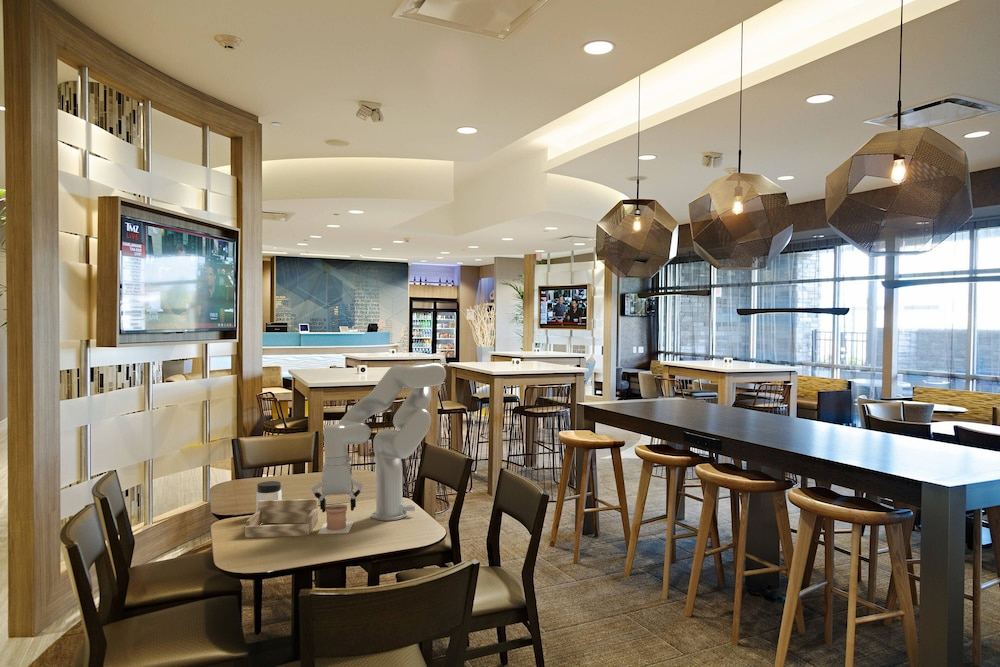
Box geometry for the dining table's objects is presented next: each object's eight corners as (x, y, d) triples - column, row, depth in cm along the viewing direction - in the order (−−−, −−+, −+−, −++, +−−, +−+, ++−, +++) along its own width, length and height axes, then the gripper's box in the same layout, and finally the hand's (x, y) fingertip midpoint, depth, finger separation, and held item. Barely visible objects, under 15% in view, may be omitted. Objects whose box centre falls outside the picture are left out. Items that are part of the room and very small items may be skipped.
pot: (348, 524, 228) (348, 503, 228) (345, 530, 221) (345, 509, 221) (327, 524, 228) (327, 504, 228) (323, 530, 220) (323, 509, 220)
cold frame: (318, 521, 233) (317, 498, 233) (308, 535, 217) (308, 511, 217) (259, 523, 231) (259, 500, 231) (245, 537, 215) (244, 513, 215)
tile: (353, 522, 231) (353, 521, 231) (348, 533, 219) (348, 532, 219) (324, 523, 230) (324, 522, 230) (317, 534, 218) (317, 533, 218)
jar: (259, 520, 234) (259, 487, 234) (253, 515, 241) (253, 483, 241) (284, 516, 239) (284, 483, 239) (278, 511, 246) (278, 479, 246)
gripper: (363, 457, 229) (365, 505, 229) (312, 459, 228) (314, 508, 228) (360, 461, 222) (362, 512, 222) (308, 464, 220) (310, 515, 221)
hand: (338, 510), depth 225 cm, fingers open, 9 cm apart
